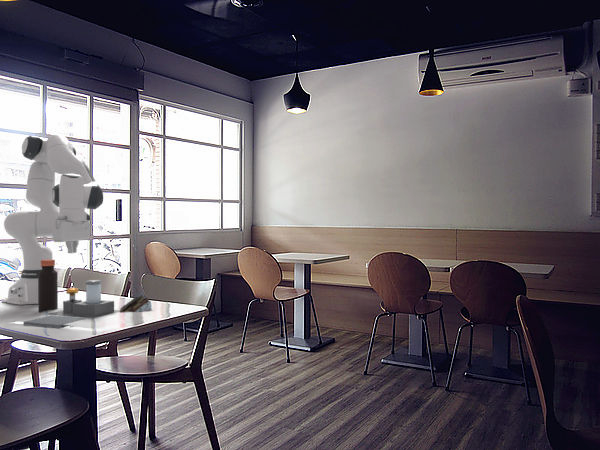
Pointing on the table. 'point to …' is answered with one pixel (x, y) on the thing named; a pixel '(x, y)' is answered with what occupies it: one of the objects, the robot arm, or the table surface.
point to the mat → (52, 321)
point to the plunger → (72, 293)
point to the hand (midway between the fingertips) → (72, 253)
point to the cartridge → (93, 291)
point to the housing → (86, 309)
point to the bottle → (47, 286)
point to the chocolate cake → (137, 305)
